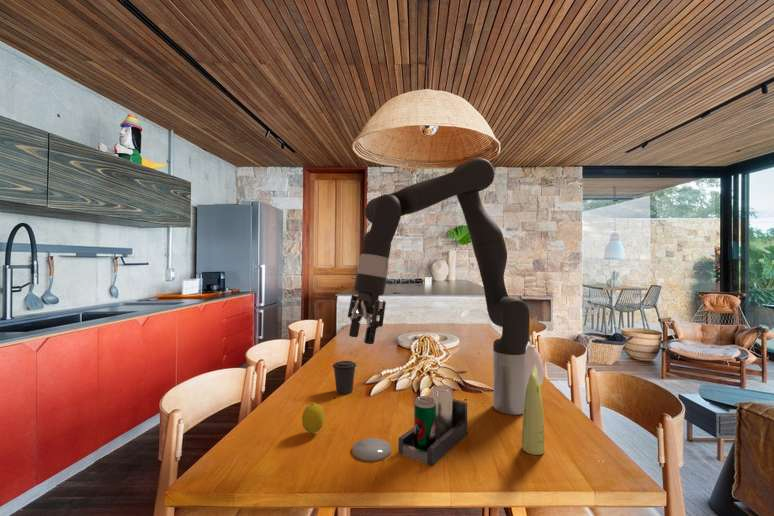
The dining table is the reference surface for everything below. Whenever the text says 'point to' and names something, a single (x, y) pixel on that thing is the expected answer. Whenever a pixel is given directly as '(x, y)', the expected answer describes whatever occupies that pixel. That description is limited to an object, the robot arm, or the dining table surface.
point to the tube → (533, 417)
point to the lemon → (313, 418)
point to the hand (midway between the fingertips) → (360, 340)
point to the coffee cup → (344, 376)
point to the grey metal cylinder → (443, 409)
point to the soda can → (424, 422)
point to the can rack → (441, 444)
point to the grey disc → (371, 449)
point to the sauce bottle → (533, 363)
